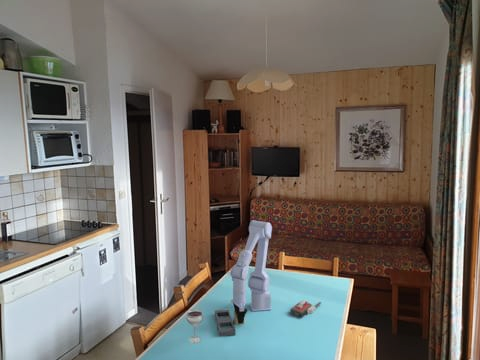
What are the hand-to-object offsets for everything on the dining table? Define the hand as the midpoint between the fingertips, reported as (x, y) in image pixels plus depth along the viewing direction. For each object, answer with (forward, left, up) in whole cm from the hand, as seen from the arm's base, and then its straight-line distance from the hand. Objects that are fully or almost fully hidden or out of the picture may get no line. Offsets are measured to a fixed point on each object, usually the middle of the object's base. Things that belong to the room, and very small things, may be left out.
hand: (239, 319), depth 174 cm
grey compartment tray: (+7, +1, -1) cm, 7 cm away
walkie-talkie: (-35, -7, -2) cm, 36 cm away
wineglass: (+21, +12, -2) cm, 24 cm away
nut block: (0, 0, -2) cm, 2 cm away
